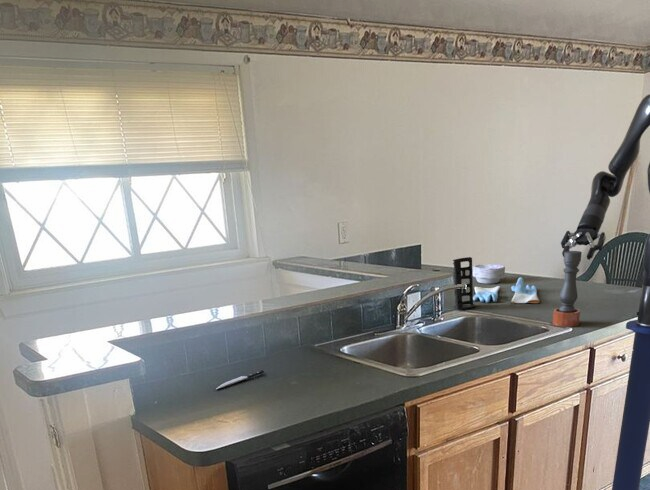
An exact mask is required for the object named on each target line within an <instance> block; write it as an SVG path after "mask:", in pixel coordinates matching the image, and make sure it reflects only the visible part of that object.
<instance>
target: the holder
mask: <svg viewBox="0 0 650 490" xmlns="http://www.w3.org/2000/svg"><path fill="white" fill-rule="evenodd" d="M452 261H453V262H452V264H453V282H454V286H455V285H457V284H462V280H469V283H465V284H466V285H467V287H466V289H463V288H462V289H455V288H454V300H455V301H454V303H455V305H454V306H455V307H454V308H455V309H457V311H463V310H468V309H471V308H475V304H474V300H473V296H474V293H473V292H474V290H473V289H474V288H473V285H474V284H473V283H474V282H473V281H474V280H473V257H471V256H468V257H460V258H456V259H452ZM464 262H468V266H463V267H462V263H464ZM466 271H468V272H469V274H467V273H466ZM466 274H467V275H466ZM462 285H463V284H462ZM467 288H469V291H468V292H467ZM468 296H469V300H463V297H468Z"/></svg>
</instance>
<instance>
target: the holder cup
mask: <svg viewBox="0 0 650 490" xmlns="http://www.w3.org/2000/svg"><path fill="white" fill-rule="evenodd" d="M559 308H560V307H557V308H554V309H553V315H552V325H554V326H557V327H562V328H572V327H578V326H579V325H580V317H581V310H580V309H579V308H575V309H576V310H575V311H574V312H573V313H563V312H560V311H559Z"/></svg>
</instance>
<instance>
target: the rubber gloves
mask: <svg viewBox="0 0 650 490" xmlns="http://www.w3.org/2000/svg"><path fill="white" fill-rule="evenodd" d="M473 289H474V292H475V294H473V302H476V301H478V299H479V301H480V302H481V303H484V302H485V303H486V304H488V303H490V302H491V300H492V302H493V303H496V302H497V301H498V299H499V291H500V289H501V286H500V285H497V286H495V287H481V286H474V288H473ZM511 291H512V292H513V293H514V294H513V297H512V299H511V301H510V303H511V304H527V303H528V304H539V303H540V298H539V297H538V290H537V287H536V286H535V285H532V286H530V284H526V286H525V280H524V278H523V277H518V279H517V280H516V284H515V285H512V286H511Z"/></svg>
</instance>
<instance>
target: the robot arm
mask: <svg viewBox="0 0 650 490" xmlns="http://www.w3.org/2000/svg"><path fill="white" fill-rule="evenodd" d="M649 127H650V93H649V94H647V95H645V96H644V97H643V98H642V99H641V101H640V102H639V104H638V106H637V108H636V109H635V113H634V115H633V118H632V120H631V122H630V124H629V127H628V129H627V131H626V133H625V136H624V137H623V140H622V142H621V143H620V145H619V147H618V149H617V150H616V152H615V153H614V155H613V157H612V158H611V160H610V162H609V164H608V166H607V169H608V171H609V172H610V173H609V172H607V171H604V170H601V171H599V172H597V173H596V174H595V175H594V177H593V179H592V181H591V188H590V198H589V200H588V203H587V206H586V207H585V209H584V211H583V213H582V215H581V217H580V220H579V222H578V224H577V227H576V230H575V231H573V232H571V231H570V230H566V232H565V234H564V236H563V238H562V239H561V242H560V246H561V248H562V249H563V250H562V252H561V255H562V257H563V258H564V253H565V252H566V251H570V250H571V249H572V248H575V247H576V246H588V245H589V249H588V251H587V254H586V259H587V260H588V261H589V260H591V259H592V258H593V257H594V254H595V252H596V251H602V250H603V247H604V244H605V241H606V239H607V237H606V233H605V232H604V231H602V232H601V233H599V232H600V230H601V227H602V225H603V223H604V221H605V217H606V213H607V211H608V208H609V207H610V204H611V198H614V197H617V196H618V195H619V194H620V193H621V190H622V188H623V185H624V182H625V179H626V177H627V174H628V172H629V171H630V169H631V167H632V166H633V164H634V163H635V161H636V160H637V158H638V156H639V153H640V150H641V149H640V148H641V139H642V136H643V134H644V133H645V132H646V130H647V129H648V128H649ZM646 170H647V189H648V194H650V161H649V163H648V166H647V169H646ZM597 239H598V241H597V244H595V242H594V241H596V240H597ZM642 259H643V261H642V267H643V279H642V286H641V293H640V299H639V306H638V311H637V312H636V316H637V319H636V320H637V325H638V326H641V327H646V328H650V233H649V234H648V236H647V237H646V240H645V244H644V250H643V258H642Z"/></svg>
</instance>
